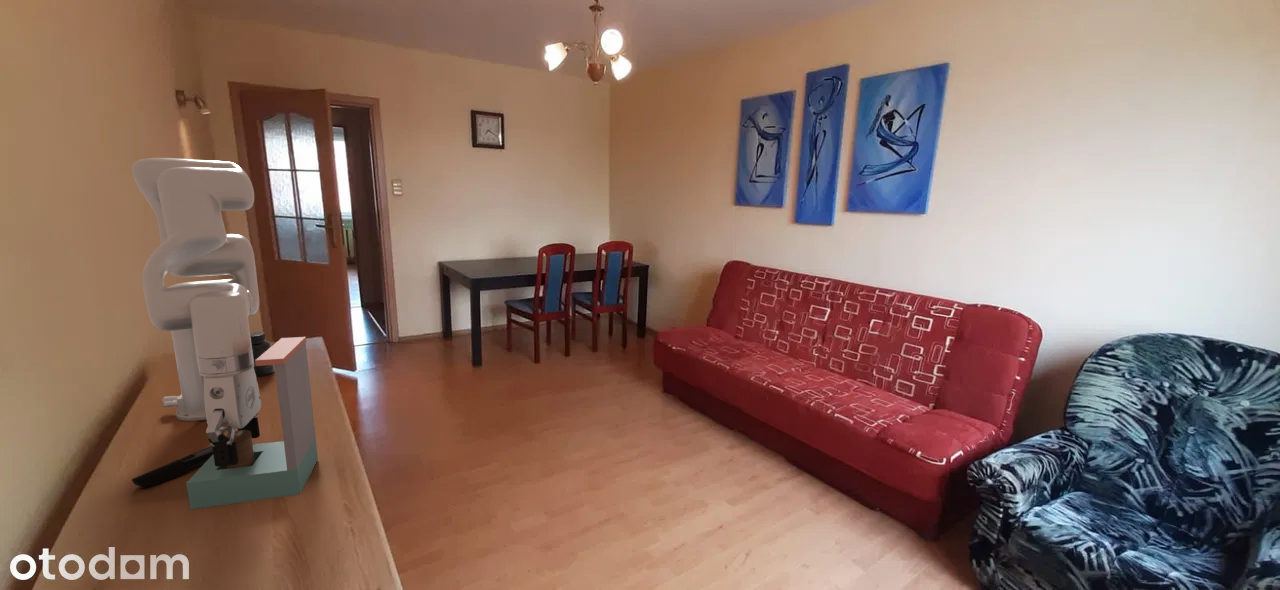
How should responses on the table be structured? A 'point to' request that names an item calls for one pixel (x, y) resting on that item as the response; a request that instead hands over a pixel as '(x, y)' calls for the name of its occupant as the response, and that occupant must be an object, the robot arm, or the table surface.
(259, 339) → the supplement bottle
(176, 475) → the electric trimmer
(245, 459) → the walnut peg
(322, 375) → the table surface
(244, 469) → the socket stand
